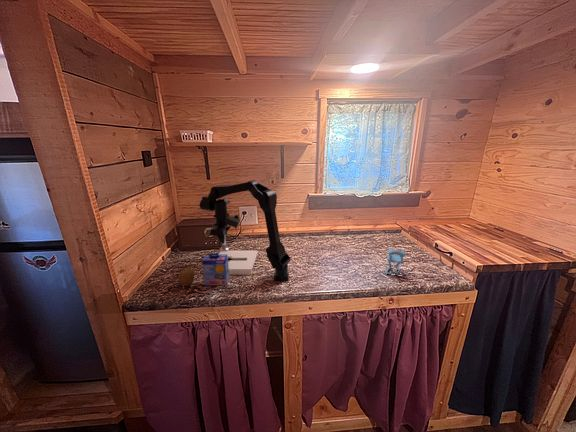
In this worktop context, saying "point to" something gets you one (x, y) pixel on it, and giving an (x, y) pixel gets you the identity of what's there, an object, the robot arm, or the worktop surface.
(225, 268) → the ink cartridge box
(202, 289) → the worktop surface
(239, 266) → the keyhole board
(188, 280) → the fruit
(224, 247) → the steel peg
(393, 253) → the chair
